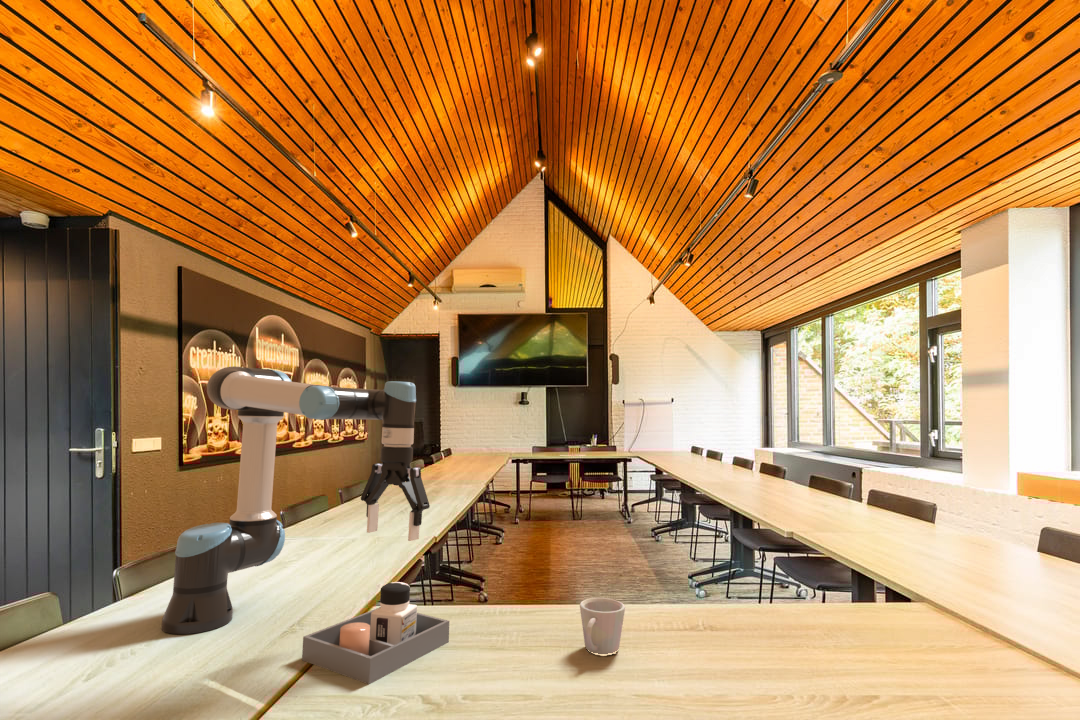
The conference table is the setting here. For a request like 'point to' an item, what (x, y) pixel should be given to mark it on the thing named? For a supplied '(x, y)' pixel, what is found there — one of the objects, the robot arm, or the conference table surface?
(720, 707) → the conference table surface
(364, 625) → the peach cylinder
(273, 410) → the robot arm
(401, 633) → the container
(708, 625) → the conference table surface
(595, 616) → the mug
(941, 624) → the conference table surface
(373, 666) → the tray
